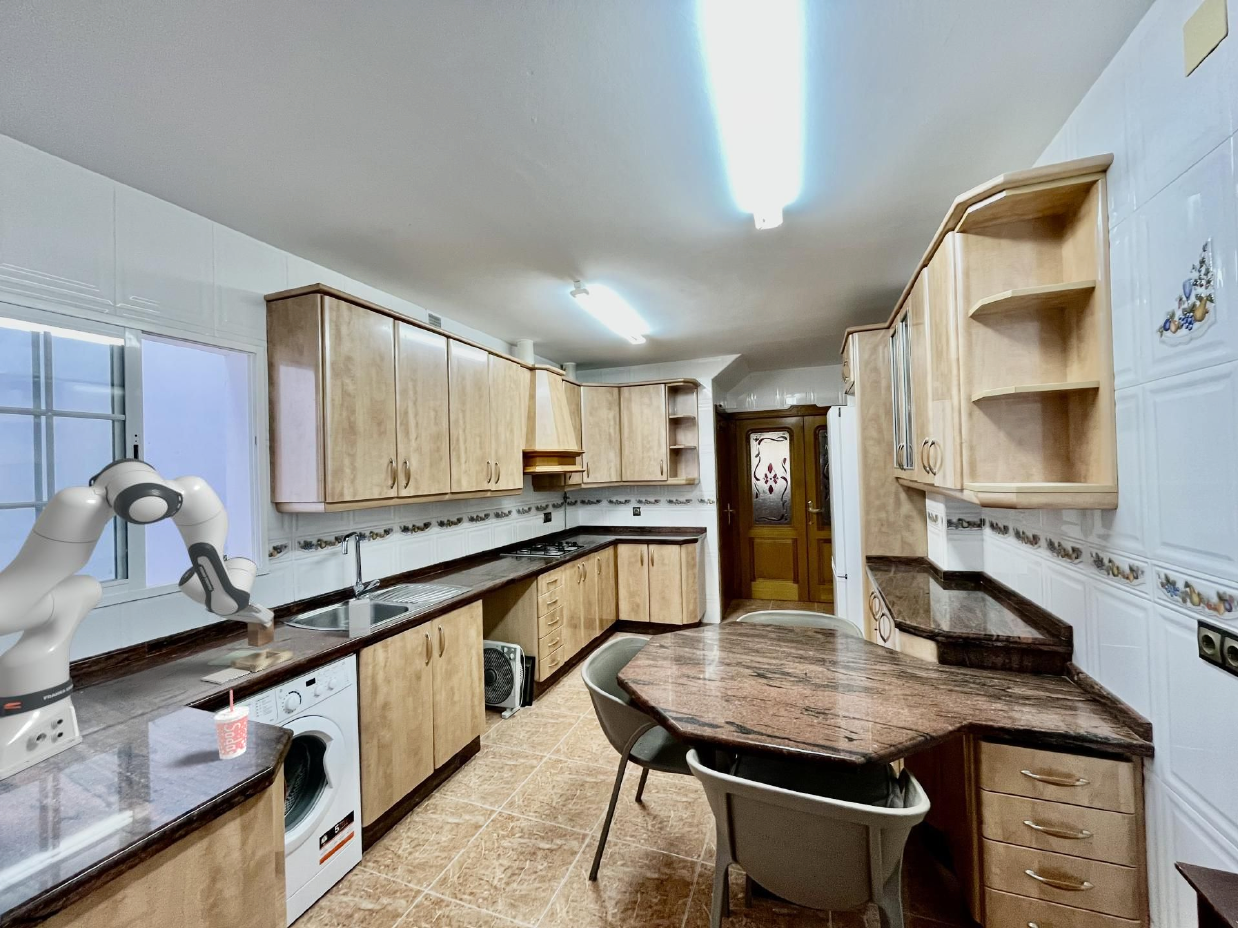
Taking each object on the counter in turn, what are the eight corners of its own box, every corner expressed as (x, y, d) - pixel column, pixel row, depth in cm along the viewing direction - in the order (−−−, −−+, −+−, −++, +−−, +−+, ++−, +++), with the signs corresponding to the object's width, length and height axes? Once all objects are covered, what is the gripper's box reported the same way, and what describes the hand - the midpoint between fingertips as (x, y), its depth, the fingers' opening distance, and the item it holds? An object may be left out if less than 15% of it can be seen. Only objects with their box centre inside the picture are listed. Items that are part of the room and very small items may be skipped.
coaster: (237, 665, 161) (237, 662, 161) (207, 665, 162) (207, 662, 162) (265, 652, 172) (265, 650, 172) (237, 652, 173) (237, 650, 173)
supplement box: (370, 634, 187) (369, 601, 187) (348, 638, 184) (347, 605, 184) (370, 629, 194) (369, 597, 194) (349, 633, 190) (348, 600, 190)
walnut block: (258, 646, 158) (257, 613, 158) (248, 645, 160) (247, 612, 160) (273, 641, 163) (273, 608, 163) (263, 640, 165) (263, 607, 165)
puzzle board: (223, 685, 145) (223, 676, 145) (198, 680, 149) (198, 672, 149) (293, 658, 165) (292, 651, 165) (269, 655, 169) (269, 647, 169)
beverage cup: (209, 763, 104) (207, 698, 104) (223, 748, 110) (221, 686, 110) (242, 758, 106) (240, 693, 106) (255, 743, 112) (253, 682, 112)
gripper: (259, 595, 152) (290, 617, 161) (217, 591, 159) (249, 613, 168) (243, 614, 147) (277, 635, 156) (201, 609, 155) (235, 630, 164)
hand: (262, 624), depth 162 cm, fingers closed on walnut block, 5 cm apart
